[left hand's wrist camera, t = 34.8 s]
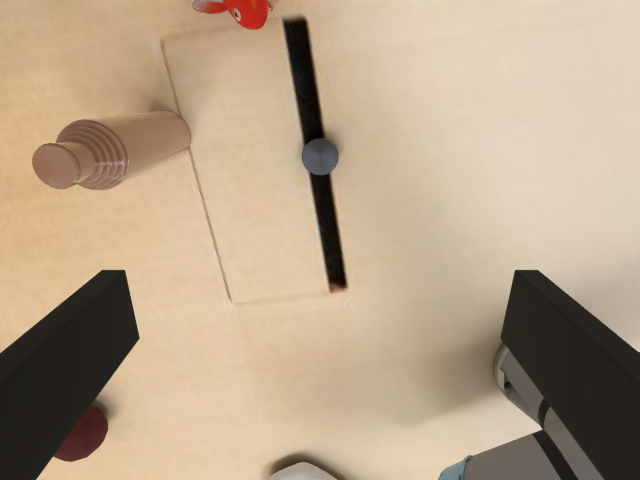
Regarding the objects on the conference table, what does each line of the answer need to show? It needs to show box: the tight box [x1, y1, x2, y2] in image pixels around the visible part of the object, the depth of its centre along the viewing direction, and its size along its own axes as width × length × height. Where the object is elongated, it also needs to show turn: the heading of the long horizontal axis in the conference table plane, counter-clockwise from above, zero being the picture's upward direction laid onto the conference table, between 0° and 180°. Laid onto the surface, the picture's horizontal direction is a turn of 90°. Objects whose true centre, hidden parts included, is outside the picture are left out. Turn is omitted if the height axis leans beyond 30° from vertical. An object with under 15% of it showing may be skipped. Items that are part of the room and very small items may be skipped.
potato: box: [53, 408, 108, 462], centre depth 54 cm, size 7×8×7 cm
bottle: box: [32, 110, 191, 190], centre depth 33 cm, size 5×5×19 cm
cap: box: [302, 137, 338, 175], centre depth 42 cm, size 4×4×2 cm
